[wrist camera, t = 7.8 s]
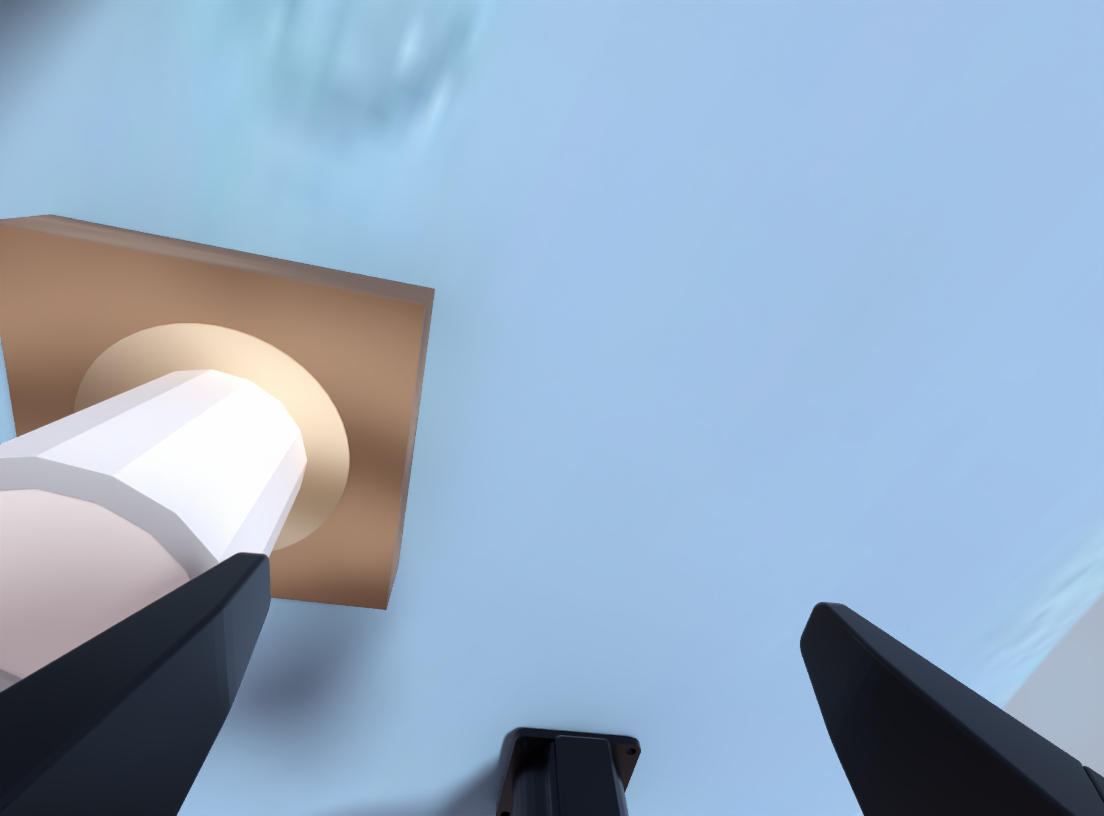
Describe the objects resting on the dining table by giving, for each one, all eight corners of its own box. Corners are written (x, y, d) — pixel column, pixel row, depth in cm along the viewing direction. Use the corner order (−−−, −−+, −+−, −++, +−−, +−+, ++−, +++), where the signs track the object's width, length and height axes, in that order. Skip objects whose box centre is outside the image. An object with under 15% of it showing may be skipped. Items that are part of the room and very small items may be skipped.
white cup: (279, 566, 20) (172, 751, 14) (75, 484, 18) (-158, 653, 12) (361, 415, 18) (280, 549, 12) (140, 306, 16) (-97, 395, 10)
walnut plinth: (397, 567, 24) (385, 612, 21) (87, 529, 22) (35, 574, 20) (434, 288, 19) (424, 306, 17) (50, 214, 18) (-23, 221, 15)
